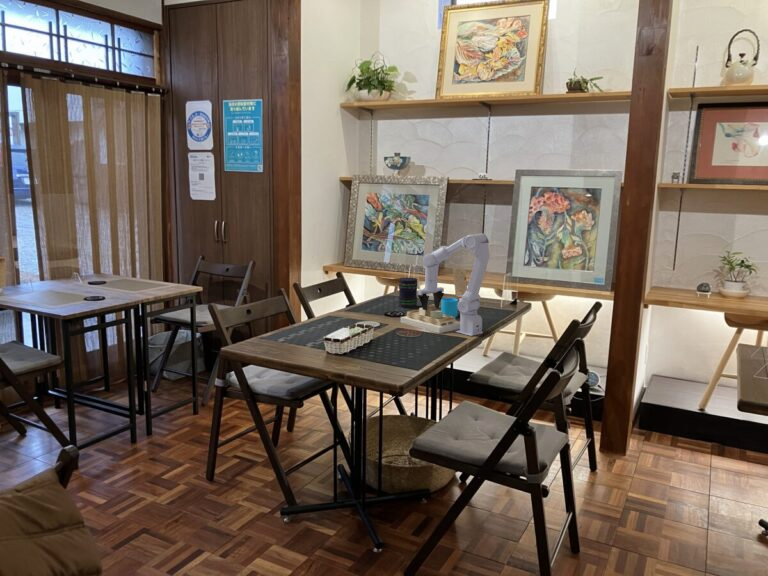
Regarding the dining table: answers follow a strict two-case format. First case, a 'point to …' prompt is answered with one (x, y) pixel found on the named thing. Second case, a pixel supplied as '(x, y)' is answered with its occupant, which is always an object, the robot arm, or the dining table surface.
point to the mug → (449, 306)
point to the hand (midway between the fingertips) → (430, 308)
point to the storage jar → (408, 293)
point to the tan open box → (428, 319)
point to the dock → (431, 325)
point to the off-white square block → (422, 312)
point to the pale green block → (436, 314)
